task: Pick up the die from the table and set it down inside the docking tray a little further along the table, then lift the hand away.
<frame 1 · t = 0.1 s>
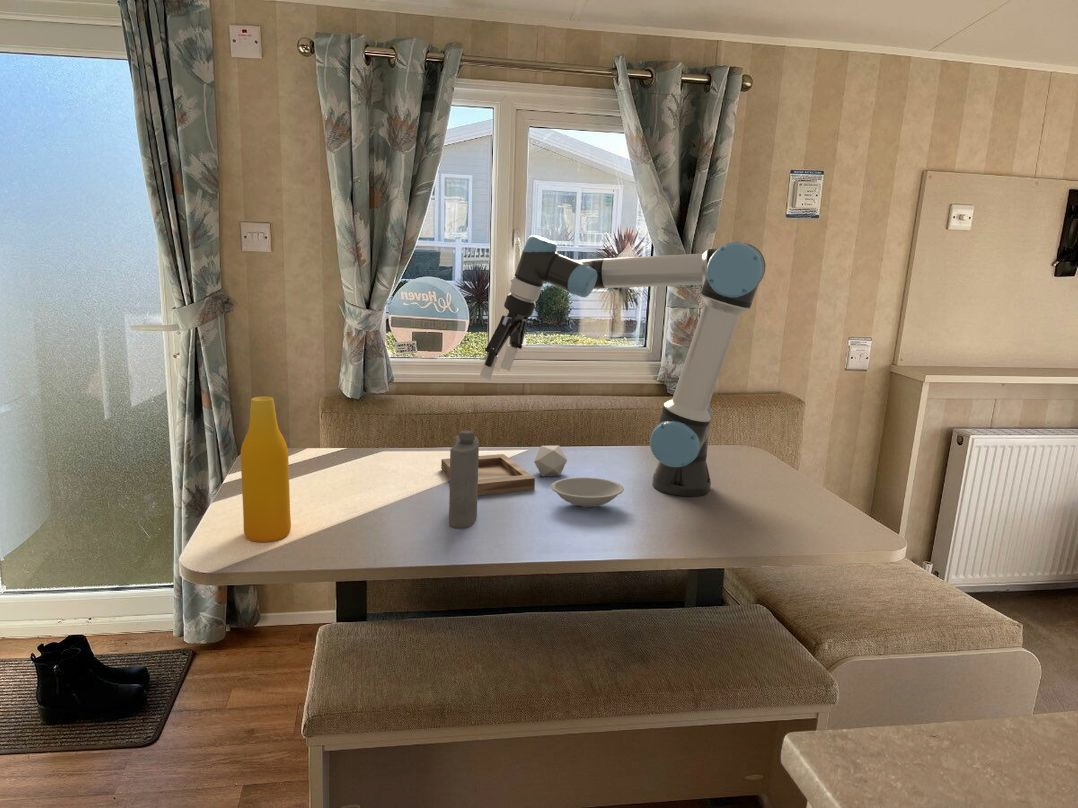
hand: (495, 373, 193), 28 cm above the table, tool tilted 20°, fingers open, 13 cm apart
die: (549, 474, 202), on the table
beer bottle: (267, 535, 155), on the table
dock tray: (486, 479, 195), on the table
dish: (586, 507, 179), on the table
flask: (463, 517, 169), on the table
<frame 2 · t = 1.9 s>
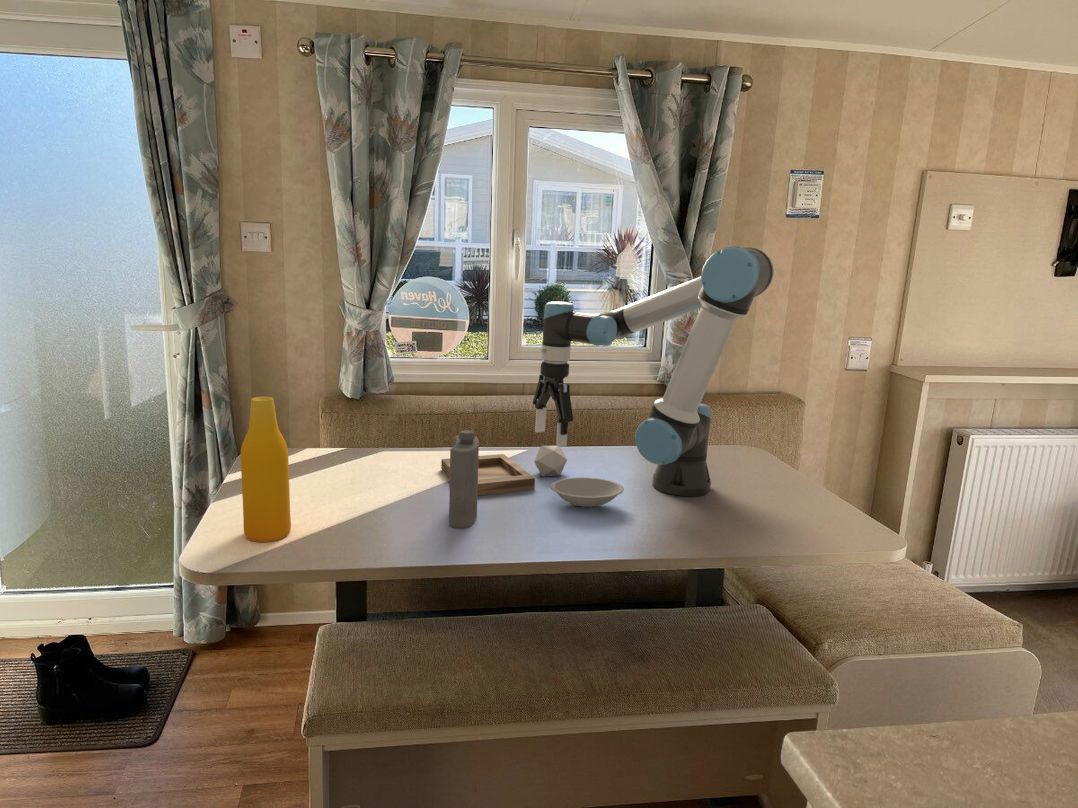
hand: (550, 438, 200), 10 cm above the table, tool pointing down, fingers open, 13 cm apart
nothing on the table moved.
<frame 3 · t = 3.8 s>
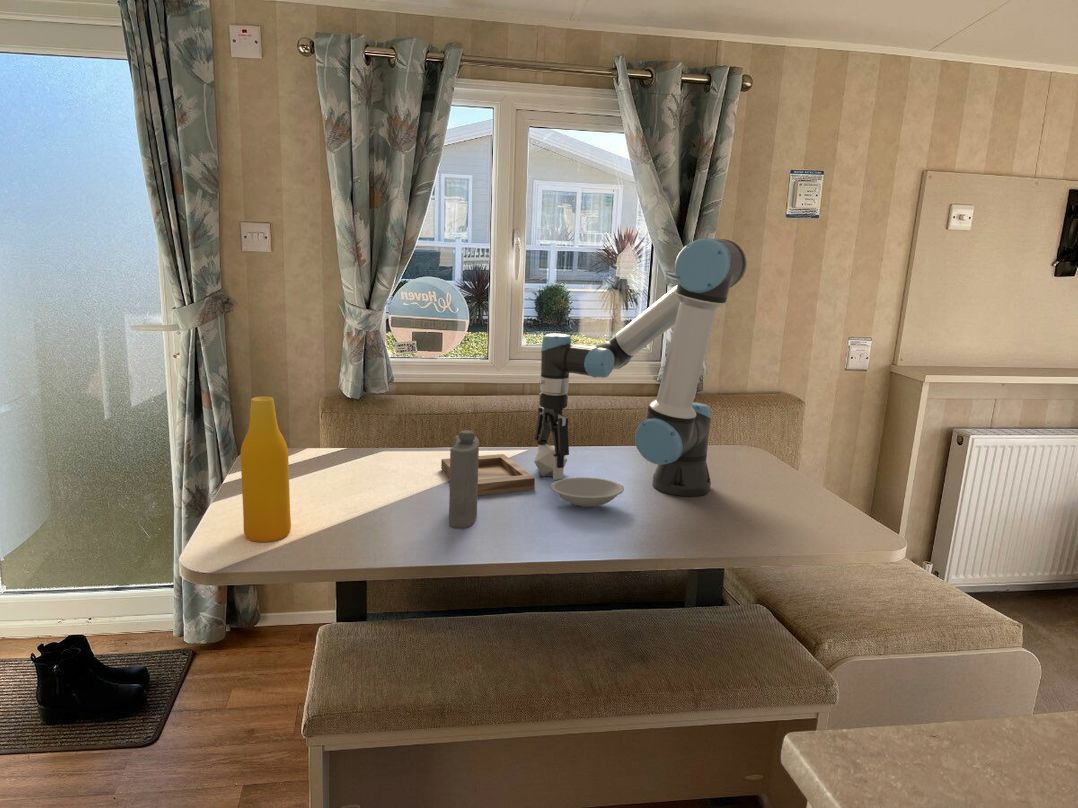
hand: (549, 472, 202), 0 cm above the table, tool pointing down, fingers closed on die, 9 cm apart
die: (549, 474, 202), on the table, touching gripper
everything else where it was.
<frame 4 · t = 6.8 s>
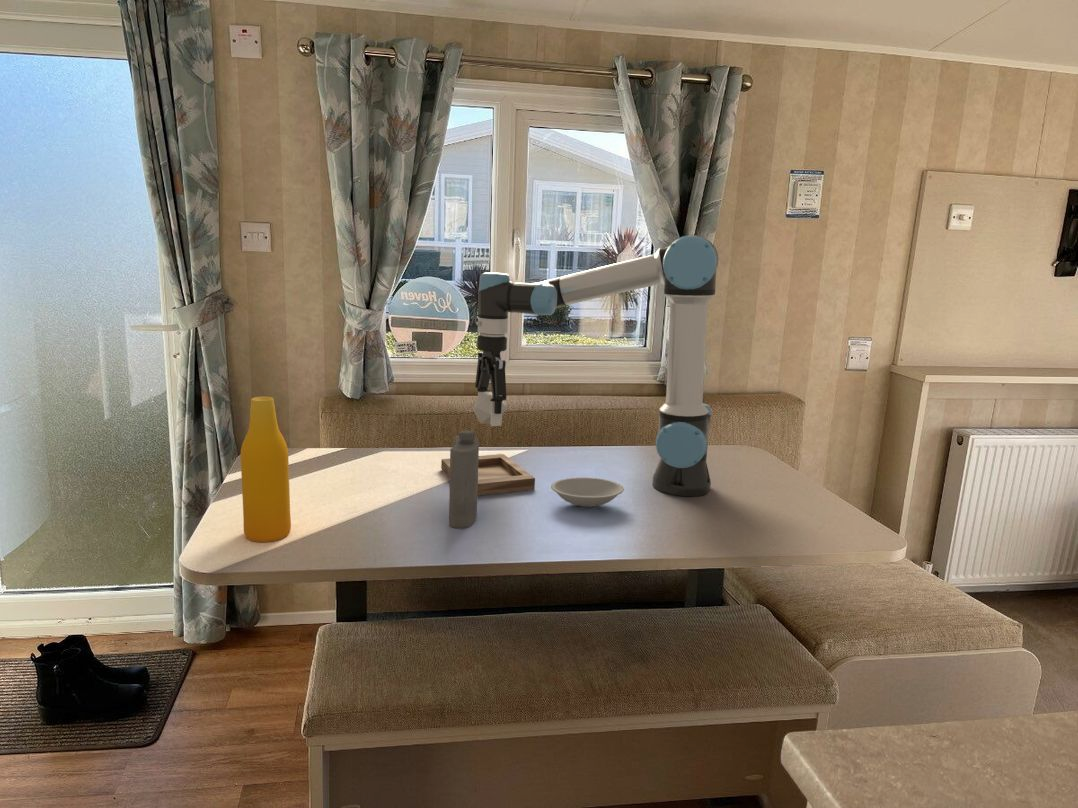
hand: (489, 420, 192), 16 cm above the table, tool pointing down, fingers closed on die, 9 cm apart
die: (489, 422, 192), point 15 cm above the table, touching gripper
everything else where it was.
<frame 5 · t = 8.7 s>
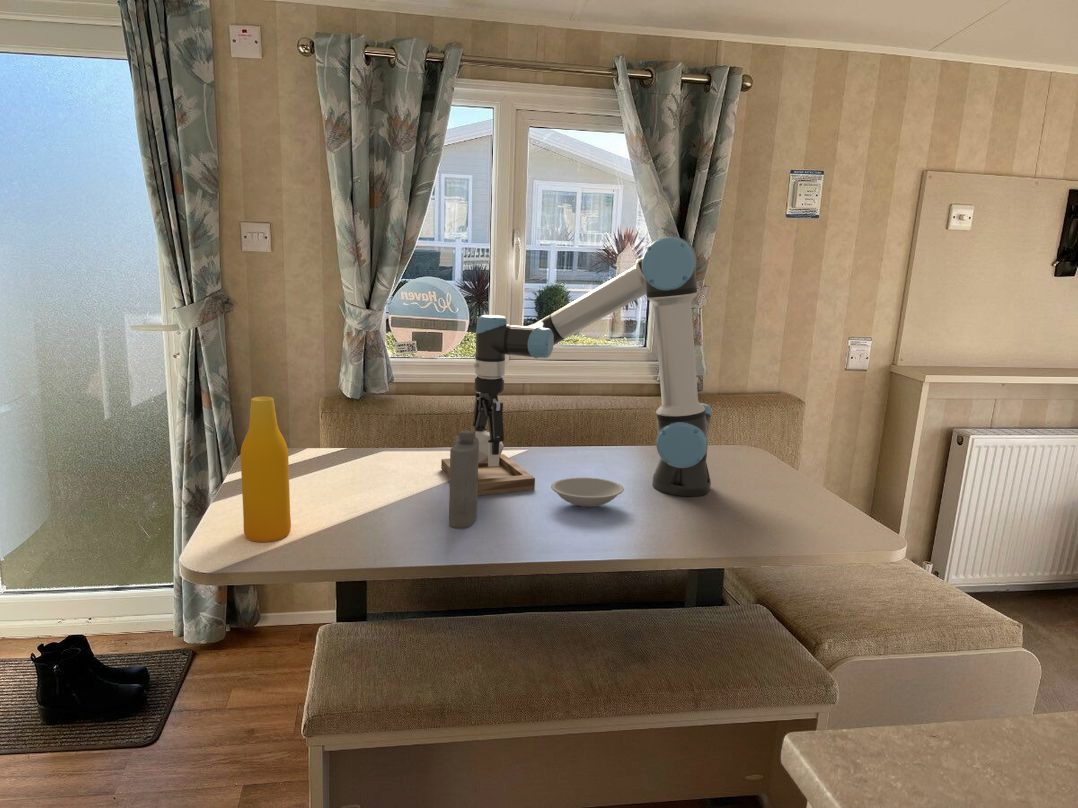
hand: (486, 460, 194), 5 cm above the table, tool pointing down, fingers closed on die, 9 cm apart
die: (486, 462, 194), point 5 cm above the table, touching gripper
everything else where it was.
when the fingers open (3 cm above the table, at t = 10.1 s): die drops 2 cm, resting on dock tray.
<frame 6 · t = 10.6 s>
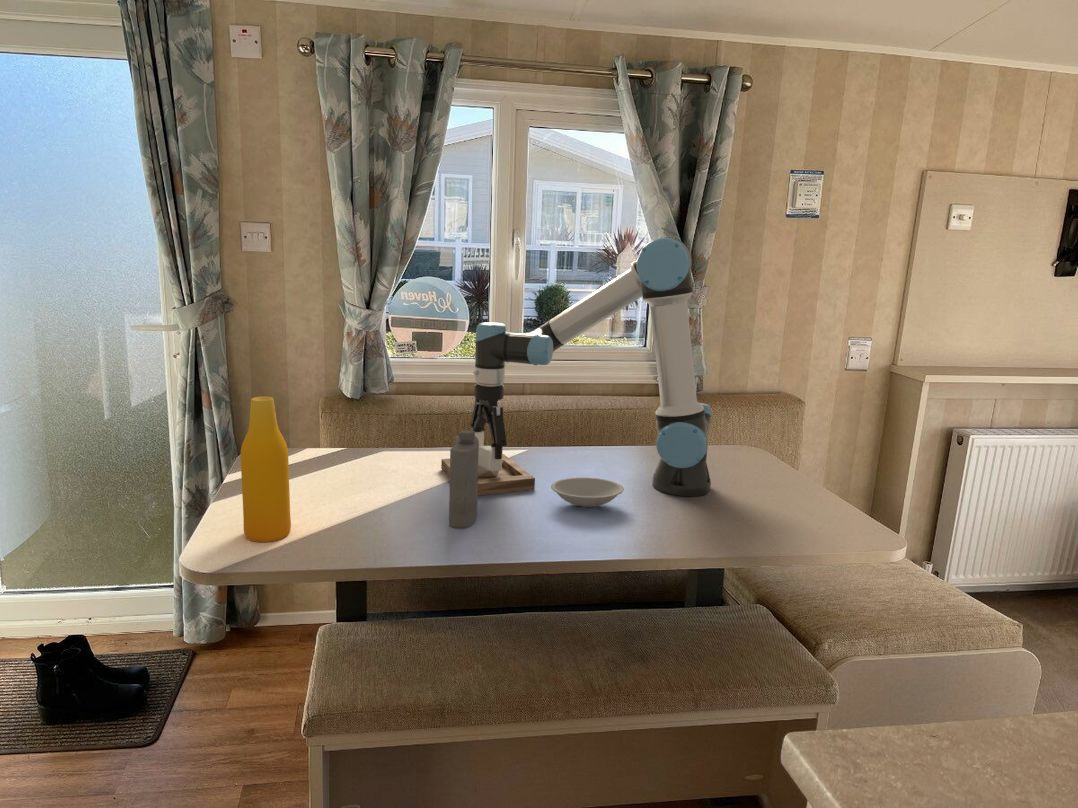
hand: (486, 462, 194), 4 cm above the table, tool pointing down, fingers open, 13 cm apart
die: (486, 476, 195), point 1 cm above the table, touching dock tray
everything else where it was.
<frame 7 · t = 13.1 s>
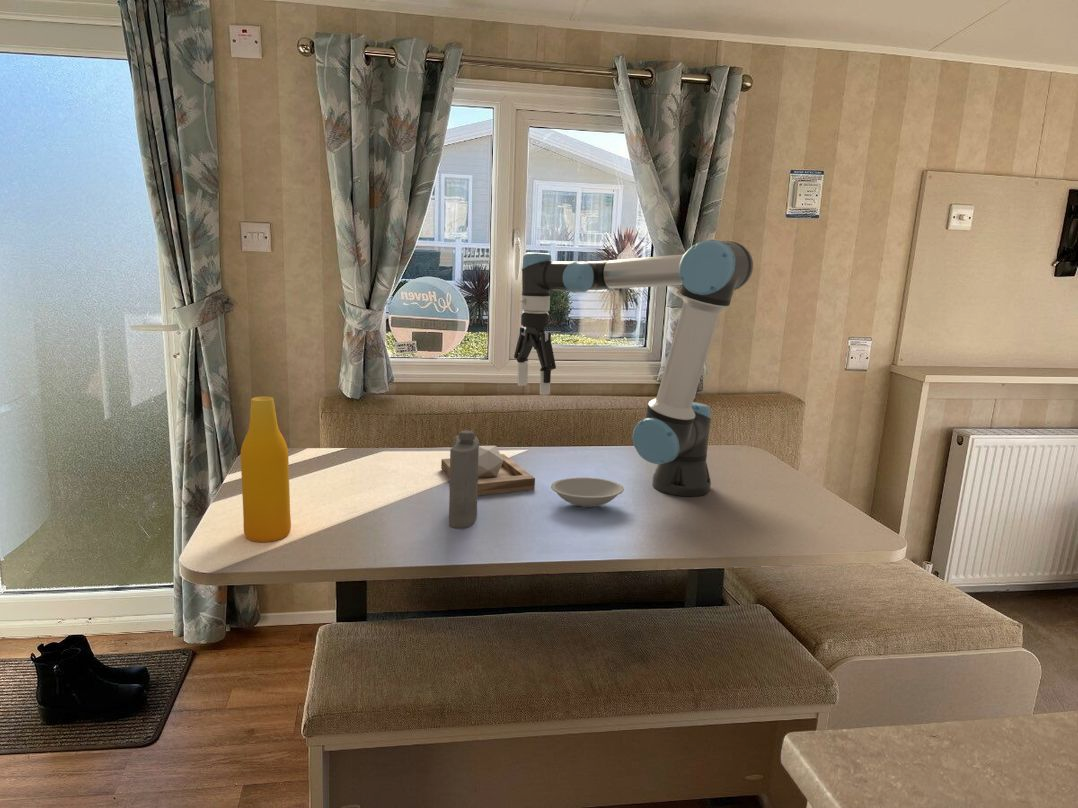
hand: (533, 390, 202), 22 cm above the table, tool pointing down, fingers open, 13 cm apart
nothing on the table moved.
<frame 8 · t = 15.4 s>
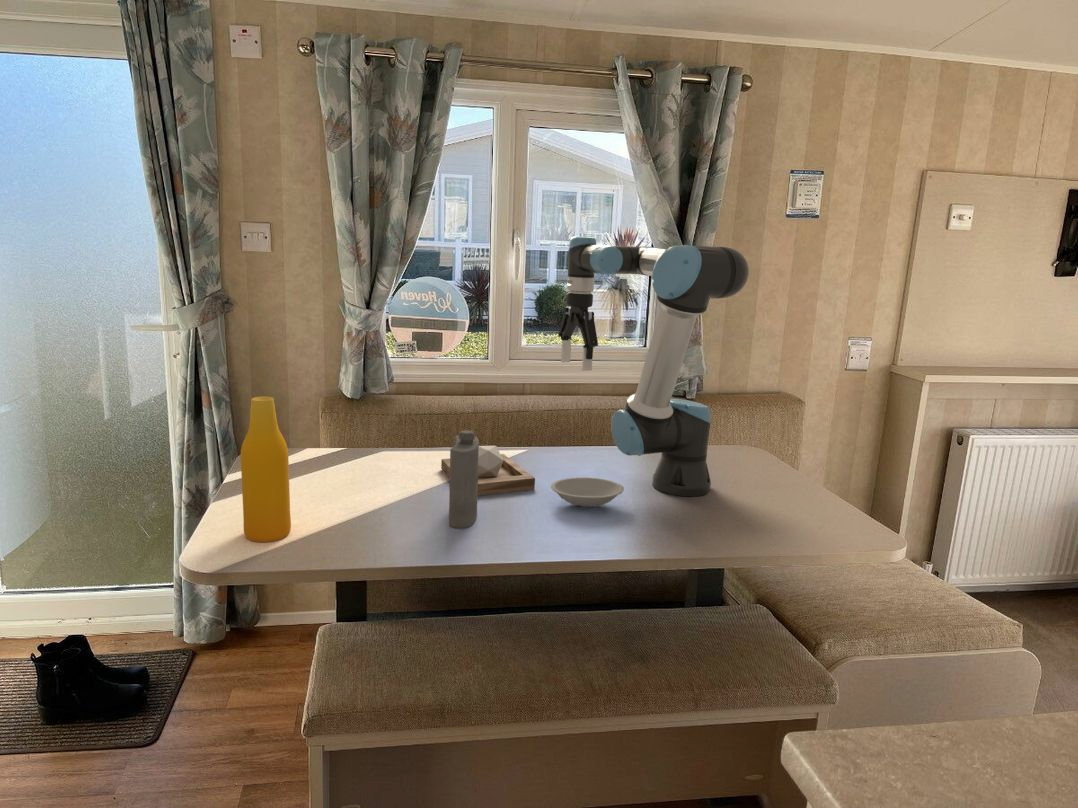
hand: (575, 366, 215), 27 cm above the table, tool pointing down, fingers open, 13 cm apart
nothing on the table moved.
at the end: die inside the target area on the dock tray (0.2 cm from its centre), point 0.8 cm above the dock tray's base; die tilted 0°; the gripper is holding nothing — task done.
